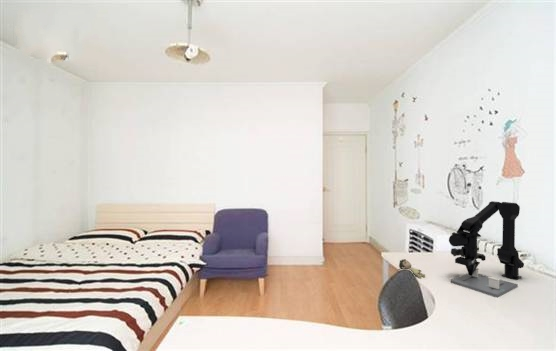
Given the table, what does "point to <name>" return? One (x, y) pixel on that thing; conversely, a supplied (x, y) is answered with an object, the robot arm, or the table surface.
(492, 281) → the fader
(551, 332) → the table surface
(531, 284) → the table surface
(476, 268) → the fader
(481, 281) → the console
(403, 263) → the figurine
